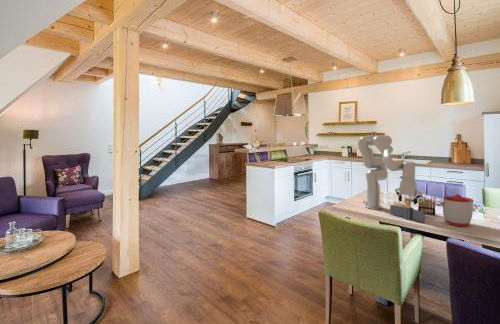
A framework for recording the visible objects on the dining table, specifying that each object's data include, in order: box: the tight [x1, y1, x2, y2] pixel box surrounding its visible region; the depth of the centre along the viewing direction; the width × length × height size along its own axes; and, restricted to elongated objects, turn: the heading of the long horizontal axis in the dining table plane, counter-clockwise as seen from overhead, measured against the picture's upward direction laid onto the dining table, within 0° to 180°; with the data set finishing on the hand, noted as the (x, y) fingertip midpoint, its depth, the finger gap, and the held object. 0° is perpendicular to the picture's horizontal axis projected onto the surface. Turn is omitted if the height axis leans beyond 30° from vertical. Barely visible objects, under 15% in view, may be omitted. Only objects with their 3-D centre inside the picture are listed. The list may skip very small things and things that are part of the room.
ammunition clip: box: [417, 197, 436, 216], centre depth 191 cm, size 11×2×12 cm, turn 46°
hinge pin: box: [404, 198, 412, 209], centre depth 183 cm, size 3×3×14 cm
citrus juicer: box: [439, 193, 474, 227], centre depth 168 cm, size 16×17×20 cm
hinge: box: [389, 204, 425, 224], centre depth 183 cm, size 23×8×8 cm, turn 37°
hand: (407, 202), depth 183 cm, fingers open, 9 cm apart
